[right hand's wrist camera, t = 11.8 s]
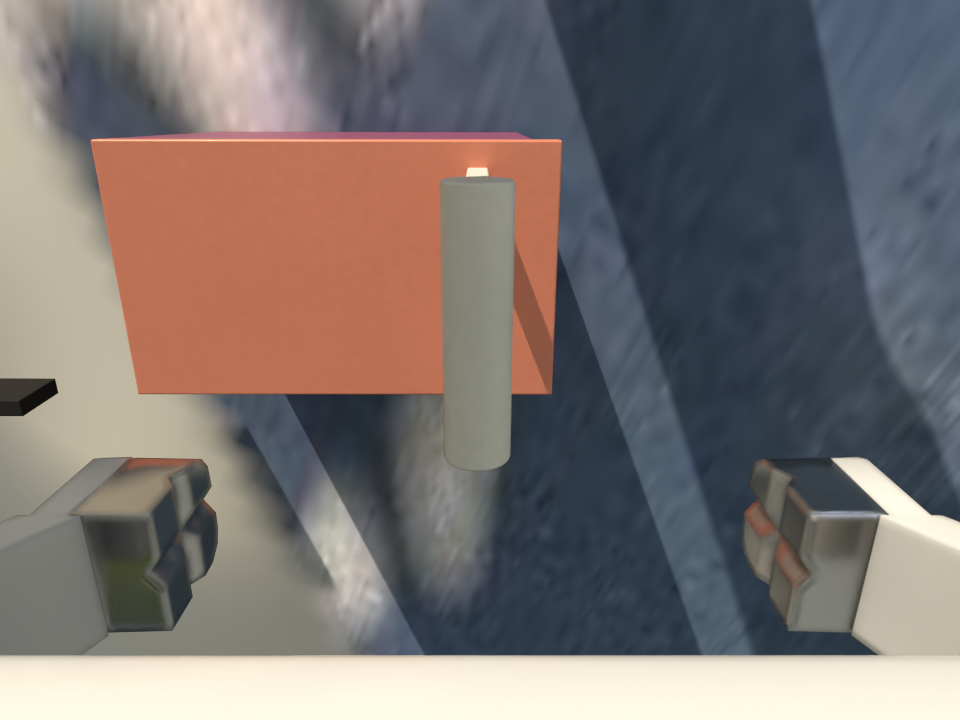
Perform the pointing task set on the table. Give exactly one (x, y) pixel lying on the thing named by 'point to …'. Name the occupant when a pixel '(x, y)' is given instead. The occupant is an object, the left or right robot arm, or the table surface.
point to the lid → (341, 270)
